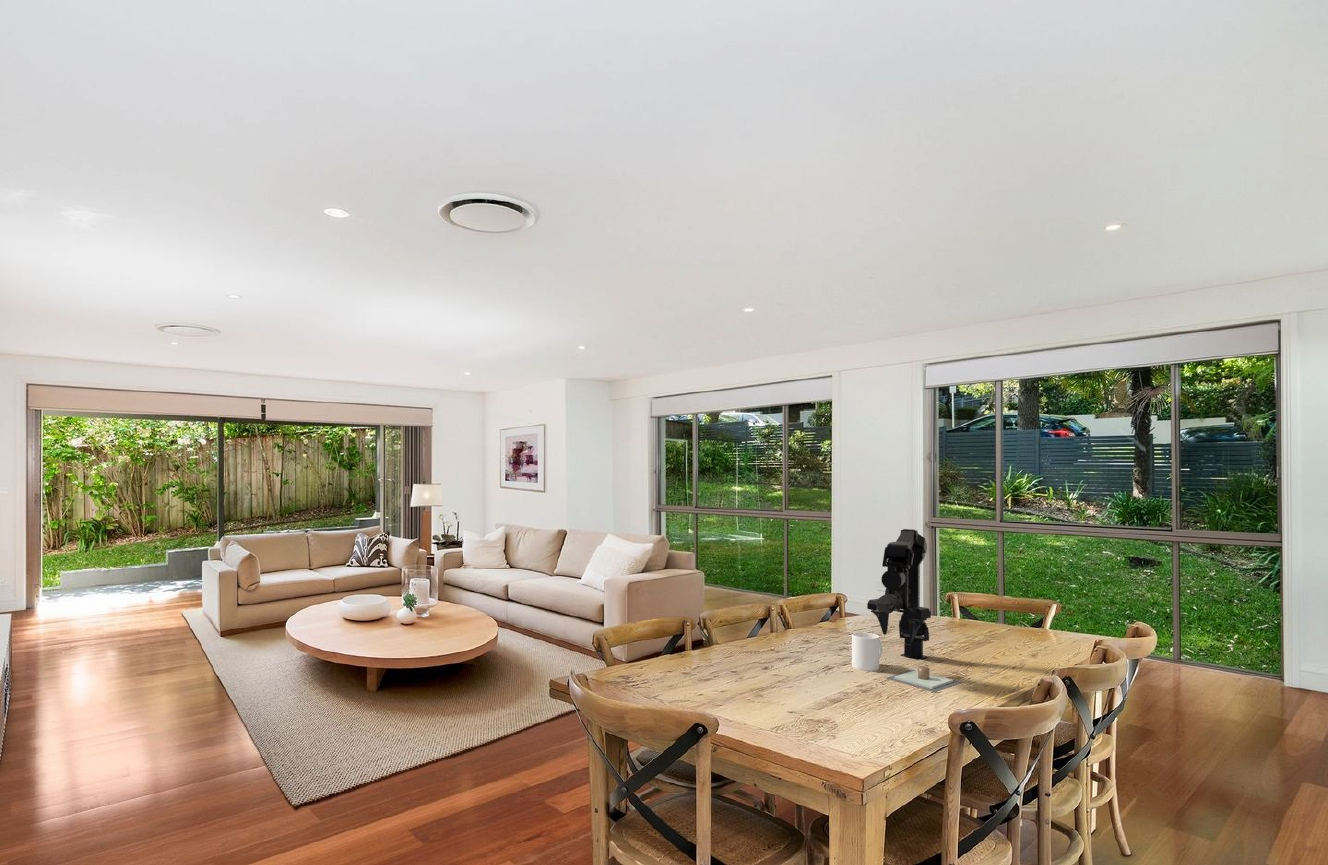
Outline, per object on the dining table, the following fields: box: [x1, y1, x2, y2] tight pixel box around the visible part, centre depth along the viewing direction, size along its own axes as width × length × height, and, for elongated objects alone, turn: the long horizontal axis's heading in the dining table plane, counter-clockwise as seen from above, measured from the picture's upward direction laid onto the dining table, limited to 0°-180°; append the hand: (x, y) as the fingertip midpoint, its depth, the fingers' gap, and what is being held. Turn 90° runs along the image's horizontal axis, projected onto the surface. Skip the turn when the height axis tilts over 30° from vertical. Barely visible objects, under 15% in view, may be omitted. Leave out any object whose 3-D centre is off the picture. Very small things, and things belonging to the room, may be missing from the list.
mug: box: [851, 632, 883, 672], centre depth 216 cm, size 12×8×10 cm
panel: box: [894, 666, 954, 689], centre depth 203 cm, size 12×12×4 cm
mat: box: [885, 669, 964, 693], centre depth 203 cm, size 16×16×1 cm
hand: (898, 637), depth 208 cm, fingers open, 9 cm apart
